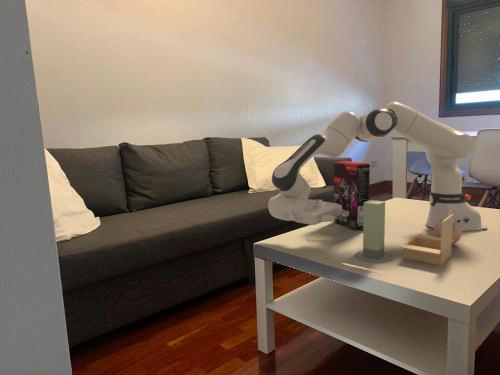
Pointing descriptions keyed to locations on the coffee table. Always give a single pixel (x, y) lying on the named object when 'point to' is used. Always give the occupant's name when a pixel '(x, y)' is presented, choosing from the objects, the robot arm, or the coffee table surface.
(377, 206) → the tall box
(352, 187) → the graphics card box
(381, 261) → the slate mat
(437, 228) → the decorative fruit
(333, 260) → the coffee table surface
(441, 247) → the wooden open tray
